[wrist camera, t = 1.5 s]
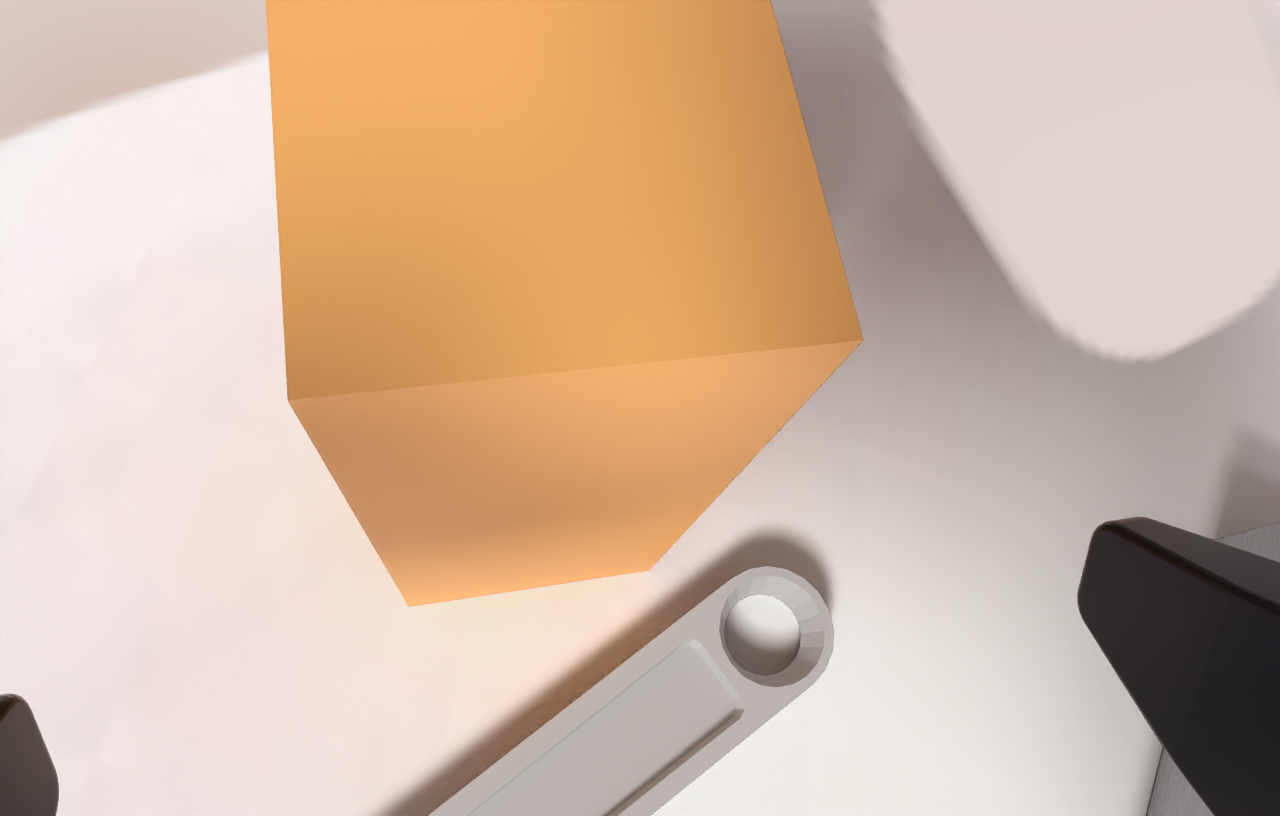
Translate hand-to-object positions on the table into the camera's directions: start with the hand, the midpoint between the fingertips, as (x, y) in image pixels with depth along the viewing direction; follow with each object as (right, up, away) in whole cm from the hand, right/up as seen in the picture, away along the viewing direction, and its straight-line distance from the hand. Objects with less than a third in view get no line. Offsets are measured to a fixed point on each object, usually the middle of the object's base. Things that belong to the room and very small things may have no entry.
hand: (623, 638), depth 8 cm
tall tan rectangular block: (-3, +1, +12) cm, 12 cm away
